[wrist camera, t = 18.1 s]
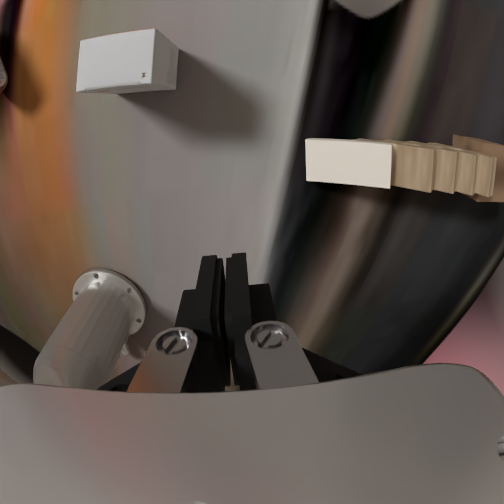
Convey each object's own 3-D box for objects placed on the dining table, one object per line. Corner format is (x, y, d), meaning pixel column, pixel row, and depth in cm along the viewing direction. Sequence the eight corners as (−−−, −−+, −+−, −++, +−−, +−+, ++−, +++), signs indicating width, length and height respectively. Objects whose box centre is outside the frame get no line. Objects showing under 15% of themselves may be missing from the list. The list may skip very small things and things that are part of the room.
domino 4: (410, 140, 35) (478, 154, 28) (408, 176, 38) (474, 193, 30) (404, 141, 34) (476, 155, 27) (403, 178, 36) (472, 195, 29)
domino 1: (309, 138, 35) (391, 143, 31) (311, 177, 37) (390, 184, 33) (305, 139, 34) (391, 145, 29) (306, 180, 36) (389, 188, 32)
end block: (475, 187, 38) (503, 202, 32) (449, 187, 38) (477, 201, 32) (479, 138, 35) (509, 147, 28) (452, 134, 35) (483, 142, 28)
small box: (179, 48, 30) (158, 26, 20) (176, 91, 32) (153, 84, 23) (117, 53, 29) (78, 38, 20) (115, 94, 32) (74, 93, 22)
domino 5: (434, 142, 35) (496, 157, 27) (432, 176, 38) (492, 195, 30) (427, 142, 35) (492, 157, 27) (425, 178, 37) (488, 197, 29)
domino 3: (386, 139, 35) (458, 151, 29) (385, 176, 38) (455, 190, 31) (380, 140, 34) (456, 152, 28) (379, 178, 36) (453, 194, 30)
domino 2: (359, 138, 35) (435, 148, 29) (359, 176, 38) (432, 189, 32) (353, 139, 34) (433, 149, 28) (353, 179, 36) (430, 192, 30)
